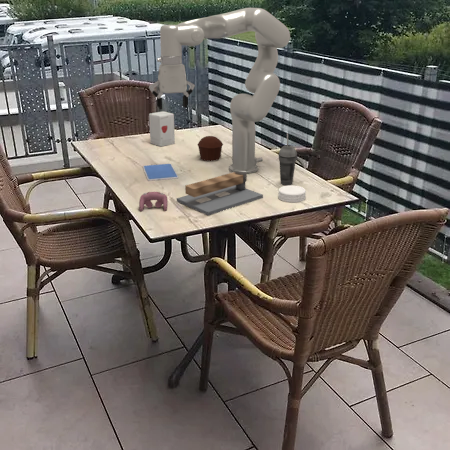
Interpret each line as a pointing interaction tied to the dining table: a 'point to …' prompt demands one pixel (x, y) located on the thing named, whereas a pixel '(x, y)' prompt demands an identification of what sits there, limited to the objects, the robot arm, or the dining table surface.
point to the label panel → (220, 199)
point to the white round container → (291, 193)
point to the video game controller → (150, 196)
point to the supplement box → (162, 128)
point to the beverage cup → (287, 163)
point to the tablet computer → (160, 172)
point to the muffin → (210, 148)
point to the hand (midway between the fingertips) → (172, 107)
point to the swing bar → (215, 183)
